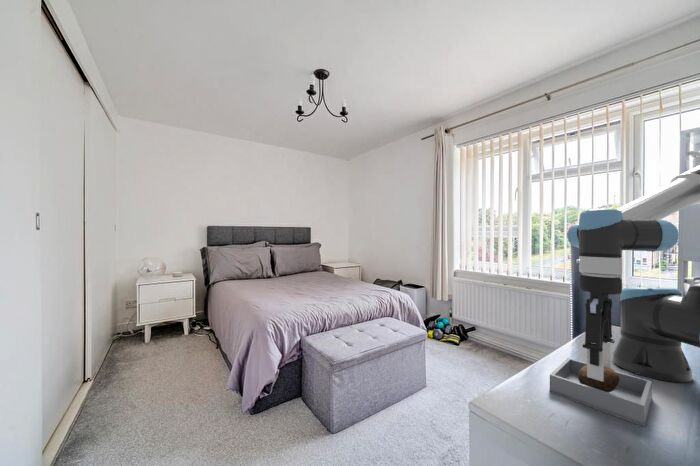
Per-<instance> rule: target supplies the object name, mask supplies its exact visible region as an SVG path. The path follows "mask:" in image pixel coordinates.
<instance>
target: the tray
mask: <svg viewBox="0 0 700 466" xmlns="http://www.w3.org/2000/svg"><path fill="white" fill-rule="evenodd" d="M585 366H587V362H584V361H580V360H577V359H574V358H570V357H568V358H566V359H565V360H564V361H562V363H561V364H560V365H559V366H558V367H556V368H555V369H554V370H553V371H552V372H551V373H550V374H549V392H550V393H551V394H555V395H556V396H557V395H558V396H561V397H562V398H566V399H568V400H571V401H574V402H576V403H579V404H582V405H585V406H587V407H590V408H593V409H595V410H598V411H601V412H603V413H606V414H609V415H612V416H614V417H617V418H620V419H622V420H625V421H628V422H631V423H632V424H633V423H634V424H636V425H638V426H641V427H645V426H646V423H647V419H648V416H649V415H648V414H649V411H650V407H651V404H652V399H653V395H652V394H653V389H652V387H653V385H652V384H653V383H652V382H653V381H652V380H649V379H644V378H642V377H638V376H634V375H632V374H627V373H623V372H620V371H617V370H614V371H615V372H616V373H617V374H618V376H619V379H620V380H619V383H618V386H617V389H615V390H614V391H611V392H609V393H608V392H605V391H602V390H599V389H596V388H593V387H590V386H587V385H583V384H580V382H579V379H578V374H579V371H580V370H581V368H582V367H585Z"/></svg>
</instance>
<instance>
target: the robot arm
mask: <svg viewBox="0 0 700 466" xmlns="http://www.w3.org/2000/svg"><path fill="white" fill-rule="evenodd" d="M691 205H693V206H695V205H700V165H697V166H695V167H693V168H691V169H689V170H687V171H685V172H683V173H681V174H678V175H676V176H675V177H673V178H672V179H671V181H670V182H669V184H666V185H664V186H662V187H660V188H658V189H656V190H654V191H652V192H650V193H648V194H645V195H644V196H641V197H639V198H637V199H635V200H633V201H631V202H629V203H627V204H625V205H622V206H621V207H619V208H595V209H586V210H584V211H582V212H581V213H580V214H579V219H578V223H575V224H572V225H571V226H570V227H569V228H568V230H567V232H566V237H567V240H568V242H569V244H570V245H571V246H573V247H574V248H576V249H578V258H579V259H576V260H575V263H576V264H579V265H578V271H579V272H580V273H581V274H579V275H578V289H579V290H580V291H582V292H588V293H590V294H589V298H587V299H586V303H585V304H584V306H585V331H584V333H585V335H584V338H585V339H584V340H585V341H584V344H582V348H583V349H586V353H587V354H586V363H587V377H589V378H592V379H596V380H599V381H602V382H603V381H604V367H608V368H611V344H615V339H614V338H613V334H612V332H613V331H612V307H613V300H612V298H611V297H609V295H614V296H615V295H620V297H619V298H620V299H619V319H620V323H619V324H620V326H619V327H620V336H619V339H618V341H617V343H616V346H615V348H614V350H613V352H612V363H614V364H615V365H616V366H618V367H620V368H621V369H624V370H626V371H628V372H630V373H634V374H638V375H640V376H643V377H647V378H651V379H654V380H660V381H664V382H671V383H672V382H673V383H690V382H692V380H693V371H692V369H691V366H690V364H689V362H688V359H687V357H686V355H685V353H684V351H683V348H682V344H686V345H690V346H693V347H695V348H700V282H699V283H696V284H692V285H689V287H688V290H687V291H686V293H685V295H682V294H683V293H682V292H681V289H679V288H670V287H667V288H666V287H639V286H638V287H635V286H634V287H633V286H631V287H630V286H629V287H622V285H623V280H622V278H621V277H619V276H621V275H623V251H631V252H632V251H633V252H634V251H636V252H638V251H639V252H652V253H654V252H664V251H667V250H670V249H672V248H674V246H676V244H678V241H679V233H680V232H679V230H678V227H676V225H674V223H672V222H670V221H668V220H663V219H664V218H666V217H669V216H670V215H673V214H675V213H677V212H679V211H681V210H683V209H685V208H687V207H690V206H691Z"/></svg>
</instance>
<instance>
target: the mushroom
mask: <svg viewBox="0 0 700 466" xmlns="http://www.w3.org/2000/svg"><path fill="white" fill-rule="evenodd" d="M615 371H616V370H614V369H612V368H611V367H610V368H608V367H604V381H603V382H602V381H599V380H596V379H592V378H589V377H587V366H585V367H582V368H581V370H580V371H579V374H578V379H579V382H580V384H583V385H587V386H590V387H593V388H596V389H599V390H602V391H605V392H608V393H609V392H611V391H614V390H615V389H617V386H618V383H619V380H620V379H619V376H618V374H617V373H616V372H615Z"/></svg>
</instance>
